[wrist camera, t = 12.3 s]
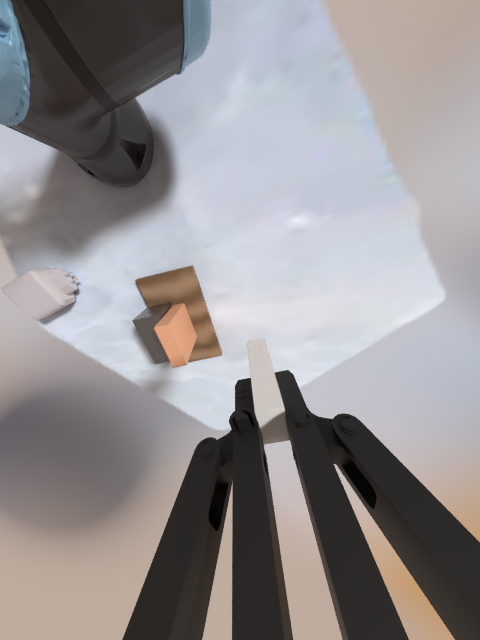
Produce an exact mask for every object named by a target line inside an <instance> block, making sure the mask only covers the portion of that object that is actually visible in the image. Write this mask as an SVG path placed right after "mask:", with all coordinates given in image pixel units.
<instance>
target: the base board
mask: <svg viewBox="0 0 480 640" xmlns="http://www.w3.org/2000/svg"><path fill="white" fill-rule="evenodd" d="M135 281H136V283H137V285H138V287H139V289H140V291H141V293H142V295H143V297H144V299H145V301H146V303H147V305H148V307H150V306H154V305H159V304H163V303H167V302H171V304H172V306H173V305H177V304H182V303H184V304H185V306H186V309H187V312H188V314H189V317H190V319H191V322H192V324H193V327H194V330H195V332H196V335H197V338H196V341H195V344H194V346H193V349H192V352H191V355H190V357H189V360H188V362H192V361H197V360H202V359H207V358H212V357H216V356H221V355H222V351H221V348H220V345H219V342H218V339H217V336H216V333H215V330H214V327H213V324H212V321H211V318H210V315H209V312H208V309H207V306H206V303H205V300H204V297H203V294H202V291H201V288H200V285H199V282H198V279H197V276H196V273H195V270H194V267H193V265H192V266H188V267H184V268H180V269H176V270H172V271H168V272H164V273H160V274H155V275H151V276H147V277H143V278H139V279H137V280H135Z"/></svg>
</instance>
